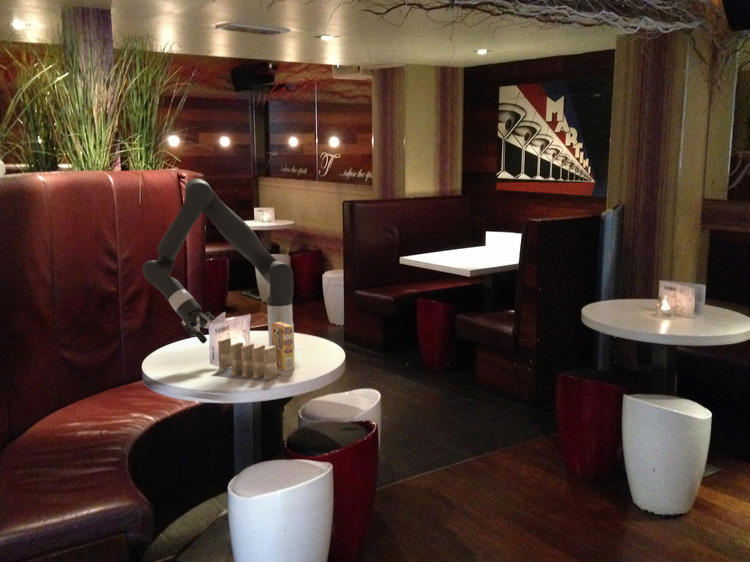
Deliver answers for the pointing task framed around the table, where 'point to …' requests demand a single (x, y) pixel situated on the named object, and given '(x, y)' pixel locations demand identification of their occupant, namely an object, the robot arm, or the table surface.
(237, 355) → the domino
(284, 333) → the candy box
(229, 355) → the domino
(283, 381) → the table surface
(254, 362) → the domino
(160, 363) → the table surface
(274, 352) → the domino
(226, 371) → the mat
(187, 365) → the table surface
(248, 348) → the domino
